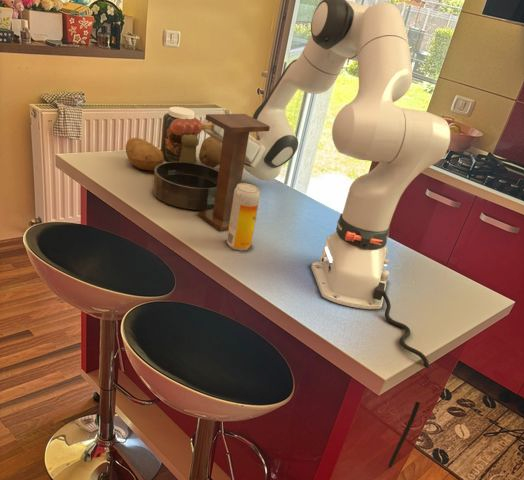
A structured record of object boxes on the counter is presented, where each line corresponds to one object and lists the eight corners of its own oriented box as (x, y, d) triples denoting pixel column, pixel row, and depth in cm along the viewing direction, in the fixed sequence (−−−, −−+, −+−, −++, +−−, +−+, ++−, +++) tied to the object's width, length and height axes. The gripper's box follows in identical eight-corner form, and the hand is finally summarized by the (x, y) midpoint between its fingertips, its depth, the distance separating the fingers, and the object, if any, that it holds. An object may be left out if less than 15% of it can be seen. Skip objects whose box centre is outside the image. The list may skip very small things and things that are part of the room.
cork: (195, 175, 170) (199, 139, 164) (175, 171, 169) (178, 135, 163) (197, 169, 175) (201, 134, 168) (178, 165, 174) (182, 130, 168)
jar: (153, 153, 180) (155, 105, 171) (182, 151, 187) (186, 104, 178) (172, 165, 173) (176, 116, 165) (202, 163, 180) (207, 116, 172)
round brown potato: (230, 169, 180) (235, 138, 175) (217, 175, 174) (221, 143, 168) (207, 161, 183) (210, 130, 177) (193, 167, 176) (196, 135, 170)
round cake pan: (218, 217, 147) (221, 194, 144) (145, 202, 147) (146, 178, 143) (228, 191, 164) (231, 170, 160) (162, 178, 163) (163, 156, 159)
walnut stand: (229, 210, 153) (244, 113, 137) (252, 225, 147) (270, 126, 132) (194, 216, 145) (205, 114, 130) (216, 231, 140) (231, 127, 125)
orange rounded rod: (216, 130, 151) (218, 115, 149) (225, 135, 149) (227, 120, 147) (167, 132, 142) (168, 116, 139) (176, 137, 140) (177, 121, 137)
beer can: (255, 248, 136) (266, 190, 127) (238, 253, 132) (248, 194, 123) (238, 238, 139) (247, 181, 130) (221, 243, 135) (229, 184, 126)
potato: (145, 179, 160) (147, 151, 156) (117, 162, 167) (117, 136, 162) (171, 174, 167) (173, 148, 162) (143, 159, 173) (144, 133, 169)
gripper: (225, 126, 163) (194, 102, 152) (269, 150, 152) (239, 125, 140) (214, 145, 164) (183, 122, 153) (257, 170, 153) (227, 147, 142)
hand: (210, 124), depth 147 cm, fingers closed on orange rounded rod, 2 cm apart
